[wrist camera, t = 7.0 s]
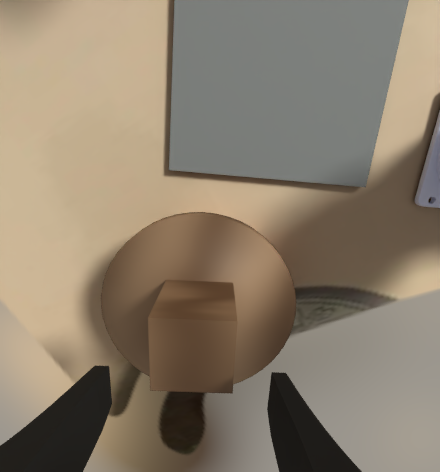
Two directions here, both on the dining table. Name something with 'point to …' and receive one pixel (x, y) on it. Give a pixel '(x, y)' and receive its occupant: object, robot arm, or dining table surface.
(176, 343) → the brown disc
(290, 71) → the mat
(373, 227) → the dining table surface
